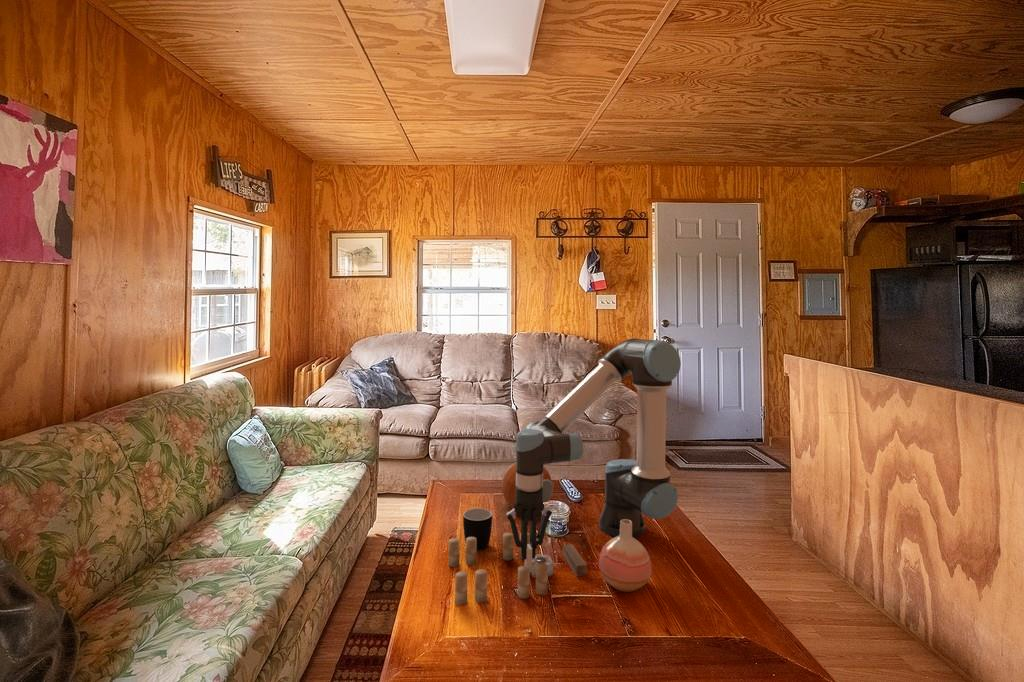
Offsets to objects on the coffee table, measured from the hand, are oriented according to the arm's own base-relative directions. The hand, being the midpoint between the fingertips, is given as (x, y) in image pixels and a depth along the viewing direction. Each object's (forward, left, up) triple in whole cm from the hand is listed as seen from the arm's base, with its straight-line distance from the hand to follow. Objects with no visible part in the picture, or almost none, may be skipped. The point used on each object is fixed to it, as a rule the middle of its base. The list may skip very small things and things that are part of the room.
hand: (528, 569), depth 133 cm
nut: (-4, 0, -1) cm, 4 cm away
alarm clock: (-11, -45, -2) cm, 46 cm away
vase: (-24, +11, -2) cm, 26 cm away
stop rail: (-14, -2, -1) cm, 14 cm away
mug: (+12, -20, -2) cm, 23 cm away
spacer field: (+9, 0, -1) cm, 9 cm away
